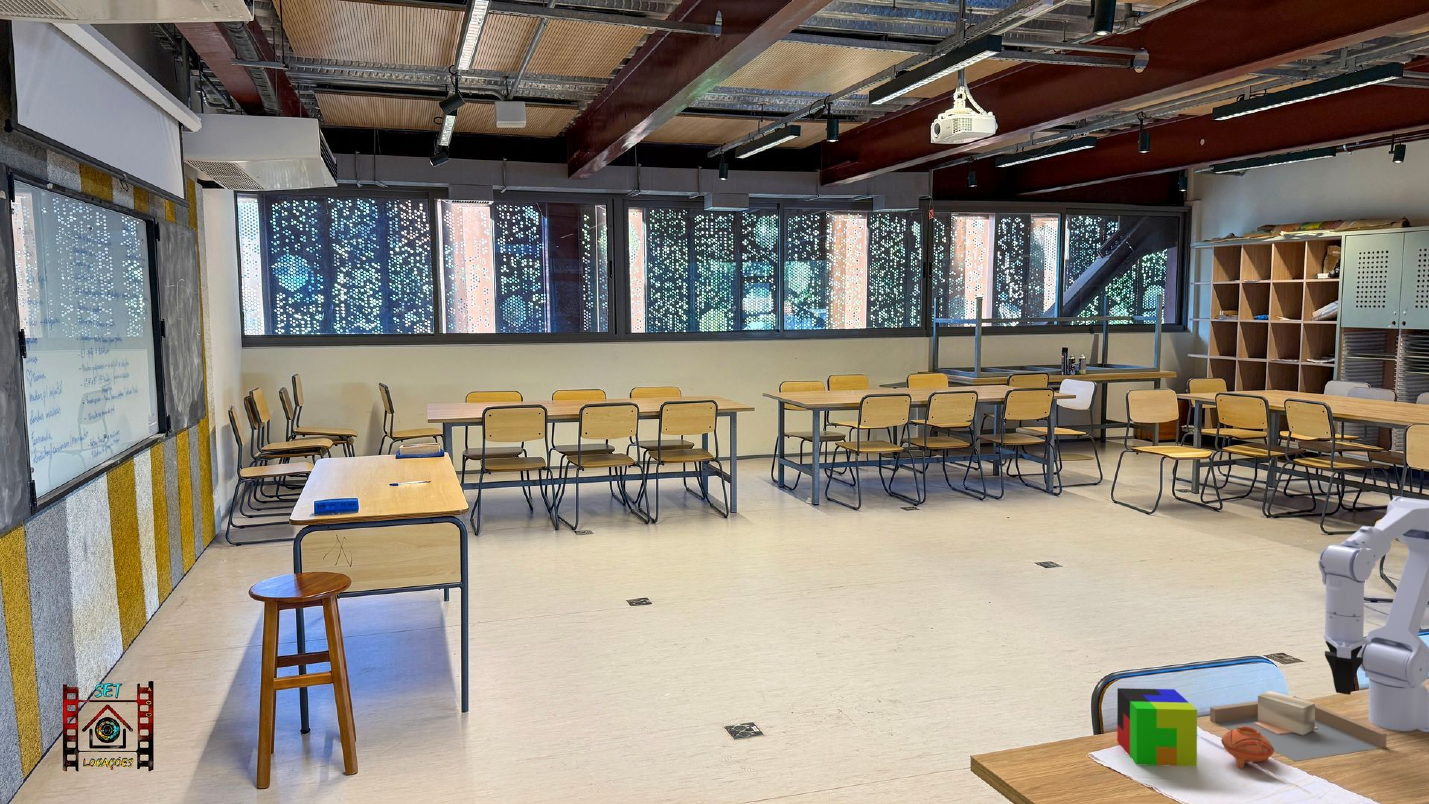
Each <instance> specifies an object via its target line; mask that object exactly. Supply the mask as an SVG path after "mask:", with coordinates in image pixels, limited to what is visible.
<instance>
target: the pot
mask: <svg viewBox="0 0 1429 804" xmlns="http://www.w3.org/2000/svg"><path fill="white" fill-rule="evenodd" d="M1260 733H1261V732H1260V731H1258V730H1257V729H1254V728H1251V727H1246V726H1241V727H1236V729H1233V730H1229V731H1227V732H1226V733H1225V734H1224V735H1222V737H1221V739H1220V741H1221V744H1222V746H1223V748H1225V750H1226V751H1227V752H1228V753H1229V754H1230V755H1231V756H1233V757H1234V758H1235V761H1236V765H1237V767H1238V769H1240V770H1241V769H1243V768H1244V766H1245V763H1246V762H1248V763H1259V762H1260V763H1261V762H1268V761H1269V758H1270V757H1272V755H1273V754H1274V748H1273V746H1272V745H1271V743H1270V742H1269V741H1268V740H1267V739H1266V738H1265V737H1264V736H1263V735H1261V734H1260Z"/></svg>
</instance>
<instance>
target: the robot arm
mask: <svg viewBox="0 0 1429 804" xmlns="http://www.w3.org/2000/svg"><path fill="white" fill-rule="evenodd" d="M1396 539H1397V540H1398V541H1399V542H1400V543H1402V544H1403V545H1405V546H1407V548H1408V553H1407V558H1406V560H1405V564H1404V566H1403V569H1402V573H1401V575H1400V578H1399V582H1398V585H1397V588H1396V591H1395V594H1394V598H1393V600H1392V603H1391V606H1390V610H1389V611H1388V612H1389V613H1388V616H1387V619H1386V622H1385V625H1383V626H1380V627H1377V628H1375V629H1372V630H1369V631H1368V633H1367V635H1366V637H1364V626H1365V625H1364V623H1365V622H1364V619H1365V618H1364V617H1365V616H1364V615H1365V614H1364V613H1365V611H1364V610H1365V609H1364V608H1365V581H1368V580H1369V578H1370V577H1371V575H1372V572H1373V569H1374V568H1375V566H1376V562H1378V561H1379V560H1380V559H1381V558H1383V557H1384V556H1385V555H1387V554H1388V553H1389V552H1390V551H1391V548H1392V542H1393V541H1394V540H1396ZM1318 568H1319V571H1320V573H1321V576H1322V583H1323V585H1325V617H1324V618H1325V623H1324V625H1325V627H1324V629H1325V631H1324V633H1323V639H1324V640H1325V644H1326V646H1327V648H1328V650H1325V651H1324V657H1325V659H1326V661H1327V662H1328V665H1329V668H1330V670H1331V674H1332V680H1333V686H1334V690H1335V693H1336V694H1343V695H1349V696H1350V695H1351V694H1352V691H1353V687H1354V683H1355V677H1356V674H1357V672H1358V670H1359V669H1361V671H1363V672H1364V677H1365V678H1368V722H1370V723H1371V724H1372V725H1374V726H1377V727H1379V728H1383V729H1385V730H1391V731H1397V732H1411V731H1415V730H1419V731H1420V732H1424V733H1429V689H1428V688H1427V687H1426V685H1425V684H1424V683H1425V682H1426V681H1427V679H1428V676H1429V646H1428V645H1427V643H1426V642H1425V641H1423V639H1422V638H1421V637H1420V636H1419V633H1420V629H1421V626H1422V622H1423V619H1424V616H1425V614H1426V613H1425V612H1426V610H1427V606H1428V603H1429V499H1420V498H1412V497H1411V498H1410V497H1404V496H1401V495H1399V496H1398V495H1397V496H1395V497H1393V499H1391V501H1389V502H1388V503H1387V508H1386V514H1385V515H1384V516H1383V517H1382V518H1381V519H1380V520H1379V521H1378V522H1377V523H1376V524H1375V525H1374V526H1366V525H1363V526H1361V527H1359V529H1358V530H1357V531H1356V532H1354V533H1353V534H1352V535H1350V536H1349V537H1348V538H1346V539H1345V540H1344V541H1342V542H1341V543H1340V544H1329V546H1326V547H1325V548H1323V550H1322V551H1321V553H1320V556H1319V559H1318Z"/></svg>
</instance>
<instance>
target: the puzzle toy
mask: <svg viewBox="0 0 1429 804" xmlns="http://www.w3.org/2000/svg"><path fill="white" fill-rule="evenodd" d="M1116 690H1117V693H1116V694H1117V695H1116V696H1117V704H1116V705H1117V712H1116V713H1117V715H1116V716H1117V721H1116V724H1117V725H1116V726H1117V728H1116V730H1117V731H1116V732H1117V733H1116V734H1117V736H1116V740H1117V743H1118V744H1119V745H1120V747H1123V748H1124V749H1125V750H1124V749H1123V748H1122V749H1123V750H1124V752H1125V753H1126V752H1127V753H1128V754H1129V755H1130V756H1129V755H1128V754H1127V753H1126V754H1127V755H1128V756H1129V757H1130V758H1132V759H1133V760H1134V761H1135V762H1134V761H1133V760H1132V759H1131V760H1132V761H1133V762H1134V763H1136V764H1147V765H1146V766H1162V765H1169V767H1170V766H1171V767H1178V766H1179V767H1198V766H1197V765H1198V709H1197V708H1196V707H1195V706H1193V704H1192V703H1190V702H1189V701H1188V700H1187V699H1186V698H1184V696H1183V695H1181V694H1180V693H1179V692H1178V691H1177V690H1176V689H1174V688H1134V687H1133V688H1132V687H1131V688H1129V687H1126V688H1124V687H1122V688H1121V687H1118V688H1117V689H1116ZM1136 764H1135V765H1136ZM1148 764H1149V765H1148Z"/></svg>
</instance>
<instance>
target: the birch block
mask: <svg viewBox="0 0 1429 804" xmlns="http://www.w3.org/2000/svg"><path fill="white" fill-rule="evenodd" d="M1298 698H1299V697H1298ZM1298 698H1294V697H1293V696H1291V695H1286V694H1283V693H1279V692H1275V691H1272V690H1269V691H1265V692H1264V693H1260V694H1258V695H1257V701H1258V722H1262V723H1265V724H1268V725H1271V726H1275V727H1278V728H1281V729H1284V730H1287V731H1291V732H1294V733H1297V734H1300V735H1304V734H1307V733H1309V732H1311V731H1313V730H1315V705H1316V703H1315V702H1311V701H1308V700H1305V699H1303V700H1301V699H1302V698H1300V699H1298Z"/></svg>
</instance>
